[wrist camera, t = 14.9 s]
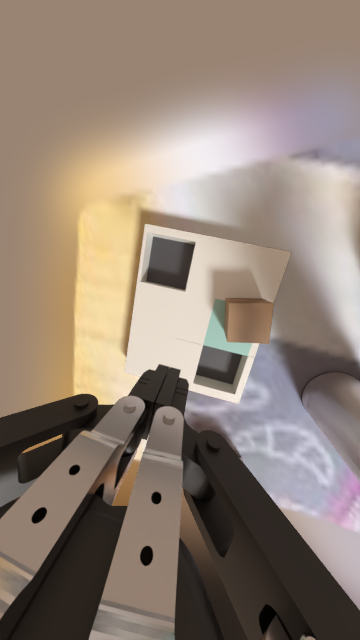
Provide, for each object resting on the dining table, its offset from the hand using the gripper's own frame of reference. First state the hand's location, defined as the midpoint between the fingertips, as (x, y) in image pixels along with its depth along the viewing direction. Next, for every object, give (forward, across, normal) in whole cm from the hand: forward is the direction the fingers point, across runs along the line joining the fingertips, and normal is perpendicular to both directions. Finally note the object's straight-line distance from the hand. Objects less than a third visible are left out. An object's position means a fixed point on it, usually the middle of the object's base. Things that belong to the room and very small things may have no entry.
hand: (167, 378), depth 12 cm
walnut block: (+16, -7, -3) cm, 18 cm away
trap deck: (+19, -1, 0) cm, 19 cm away
